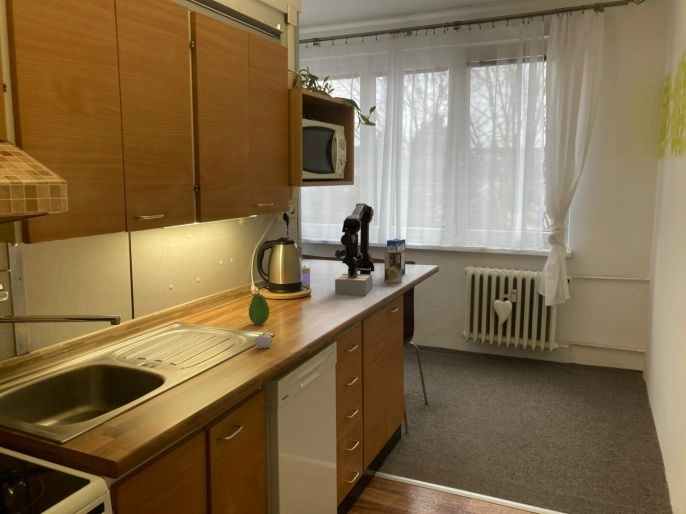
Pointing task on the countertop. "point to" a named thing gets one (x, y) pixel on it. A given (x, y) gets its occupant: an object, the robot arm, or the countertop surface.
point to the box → (353, 286)
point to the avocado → (259, 310)
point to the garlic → (263, 341)
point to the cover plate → (360, 277)
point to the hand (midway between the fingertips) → (352, 275)
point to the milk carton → (398, 246)
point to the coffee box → (392, 266)
